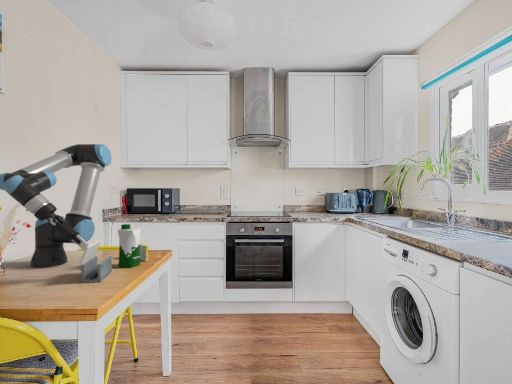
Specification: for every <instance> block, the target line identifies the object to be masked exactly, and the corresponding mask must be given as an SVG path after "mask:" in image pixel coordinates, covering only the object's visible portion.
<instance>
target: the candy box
mask: <svg viewBox="0 0 512 384" xmlns="http://www.w3.org/2000/svg"><path fill="white" fill-rule="evenodd" d="M149 249H150V245H148V244H141V243H140V262H144V263H146V262H149Z"/></svg>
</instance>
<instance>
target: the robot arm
mask: <svg viewBox="0 0 512 384" xmlns="http://www.w3.org/2000/svg"><path fill="white" fill-rule="evenodd" d="M112 159H113V158H112V153H111V150H110V149H109V147H108V146H107V145H106V144H103V143H85V144H84V143H83V144H81V143H79V144H74V145H69V146H67V147H65V148H62V149H60V150H57V151H56V152H55V154H53V155H51V156H49V157H46V158H44V159H41V160H40V161H37V162H34V163H32V164H30V165H27V166H25V167H22V168H19V169H18V170H16V171H12V172H3V173H0V190H2V191H5V192H6V193H7V194H8V195H9V196H10V197H11V198H13V199H14V200H15V201H16V202H18V203H19V204H20V205H21V206H22V207H23V208H25V211H26V212H29V213H31V214H32V215H33V216H34V217H35V218H36V220H35V225H34V244H35V247H34V248H35V249H34V252H33V254H32V256H31V260H30V267H33V268H47V267H55V266H59V265H63V264H66V263H67V262H68V256H67V254H66V250H65V246H64V244H76V245H77V246H78V247H79V248H80V249H82V251H85V249H86V247H87V246H89V245H90V243H88V241H90V240H91V239H92V238H93V236H94V234H95V229H96V228H95V227H96V226H95V223H94V221H93V218H92V216H91V210H92V208H93V207H92V206H93V202H94V198H95V194H96V191H97V190H96V189H97V187H98V183H99V178H100V174H101V173H102V172H103V173H104V171H105V168H106V167H107V166H110V165H111V163H112ZM77 166H80V168H81V172H80V176H79V180H78V183H77V187H76V190H75V194H74V198H73V201H72V205H71V207H70V211H69V212H68V213H67V212H66V213H65V217H64V216H63V215H59V214H56V213H55V212H56V211H57V210H58V208H57V207H56V206H55V204H53V203H52V202H49V201H50V200H49V199H47V198H46V197H45V196H44V195H43V194H42V192H44V191H46V190H49V189H51V187H53V186H55V185H56V184H57V181H58V179H57V176H56V175H55V173H56V172H59V171H60V170H62V169H69V168H71V167H77Z"/></svg>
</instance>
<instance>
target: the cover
mask: <svg viewBox="0 0 512 384" xmlns="http://www.w3.org/2000/svg"><path fill="white" fill-rule="evenodd" d="M101 242H102V241H101V240H97V241H94V242H93V243H91V244H89V246H87V247H86V249H85V250H83V254H82V256H81V259H80V260H79V265H82V264H84V263H86V262H87V261H89V260H90V259H92V258H94V257H96V254H97V252H98V250H99V246H100V244H101Z"/></svg>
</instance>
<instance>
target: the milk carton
mask: <svg viewBox="0 0 512 384" xmlns="http://www.w3.org/2000/svg"><path fill="white" fill-rule="evenodd" d="M141 232H142V228H137V227H131V224H127V223H124V224H123V223H122V224H121V225H120V228H119V229H117V233H118V238H119V239H118V241H119V242H118V243H119V245H118V248H119V249H118V250H119V252H118V255H119V256H118V268H128V269H129V268H131V269H132V268H134V267H137V266H139V265H141V261H140V244H141Z"/></svg>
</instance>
